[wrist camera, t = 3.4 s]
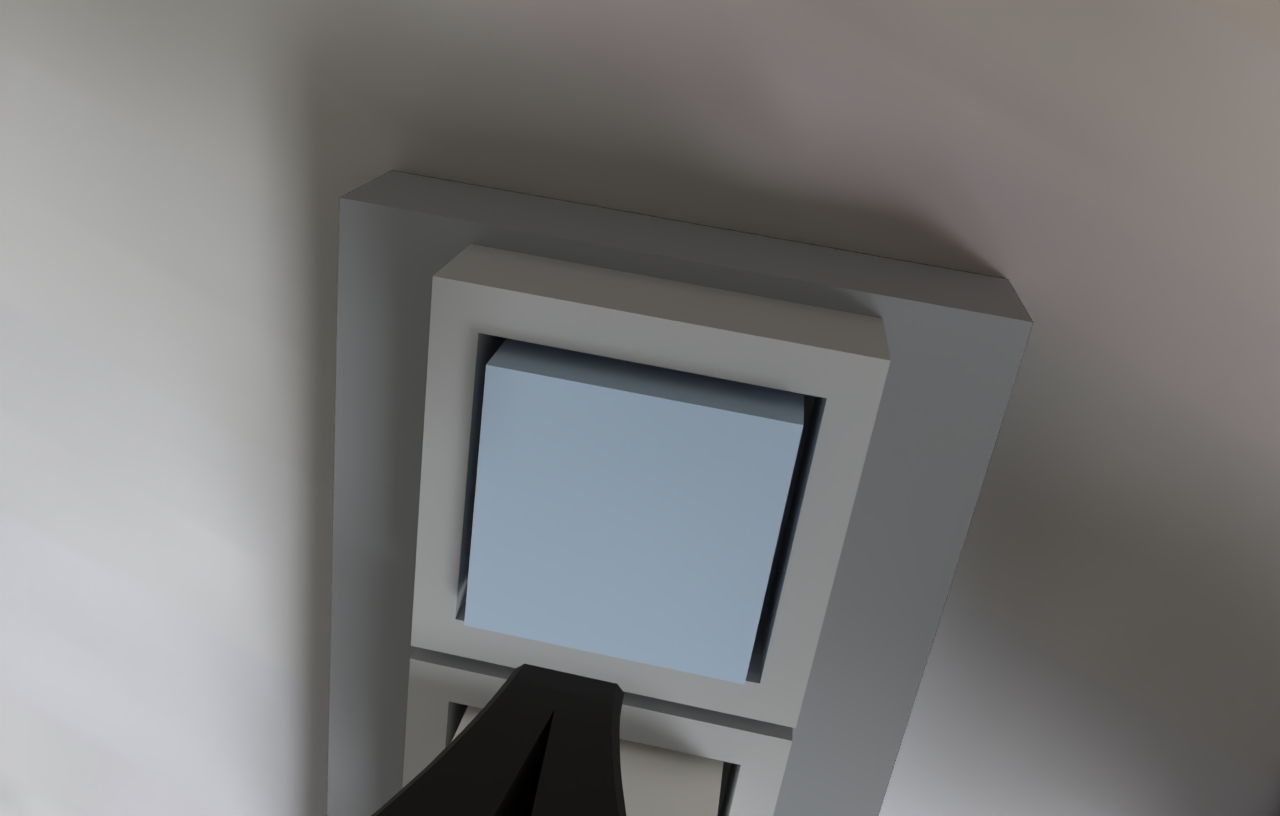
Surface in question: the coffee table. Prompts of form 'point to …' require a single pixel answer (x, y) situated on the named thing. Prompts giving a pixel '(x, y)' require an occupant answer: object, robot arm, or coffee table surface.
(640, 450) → the blue key
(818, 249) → the key panel
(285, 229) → the coffee table surface
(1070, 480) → the coffee table surface
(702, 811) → the white key
